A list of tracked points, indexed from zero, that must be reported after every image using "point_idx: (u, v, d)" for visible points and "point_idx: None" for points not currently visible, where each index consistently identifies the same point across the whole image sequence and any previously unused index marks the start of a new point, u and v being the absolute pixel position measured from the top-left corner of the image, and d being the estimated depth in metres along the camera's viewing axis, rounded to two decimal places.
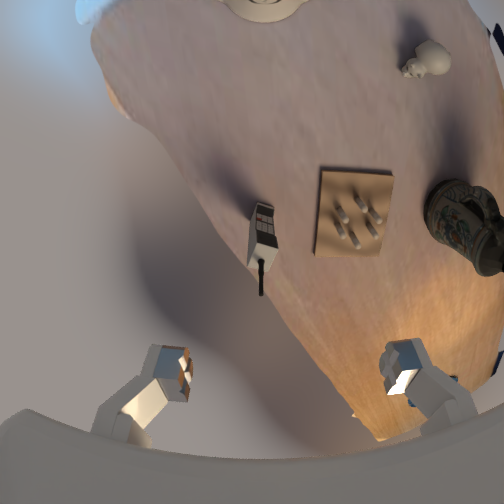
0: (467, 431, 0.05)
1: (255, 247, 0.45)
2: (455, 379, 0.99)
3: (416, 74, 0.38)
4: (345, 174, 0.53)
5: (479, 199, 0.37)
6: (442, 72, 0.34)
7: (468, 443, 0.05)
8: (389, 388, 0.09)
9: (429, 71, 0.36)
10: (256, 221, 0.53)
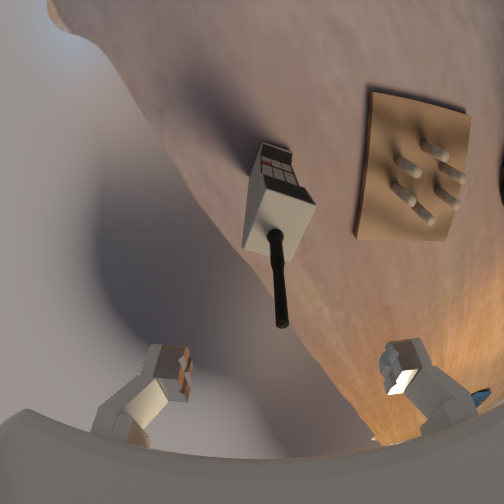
0: (467, 431, 0.05)
1: (262, 201, 0.18)
2: (488, 392, 0.73)
3: None
4: (407, 101, 0.27)
5: None
6: None
7: (468, 443, 0.05)
8: (389, 388, 0.09)
9: None
10: (261, 164, 0.26)
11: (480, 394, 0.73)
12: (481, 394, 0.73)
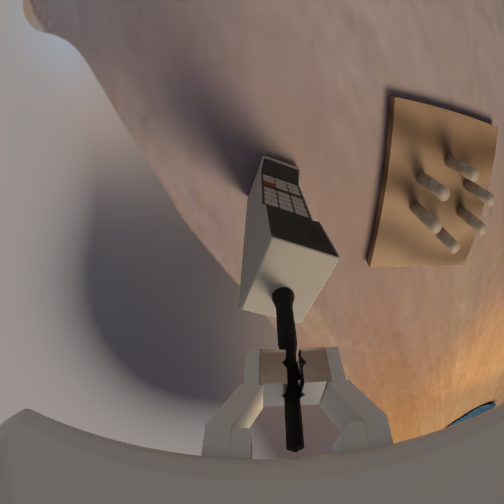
0: (467, 431, 0.05)
1: (266, 253, 0.13)
2: (493, 405, 0.68)
3: None
4: (432, 109, 0.22)
5: None
6: None
7: (468, 443, 0.05)
8: None
9: None
10: (263, 187, 0.21)
11: (485, 407, 0.68)
12: (486, 407, 0.68)
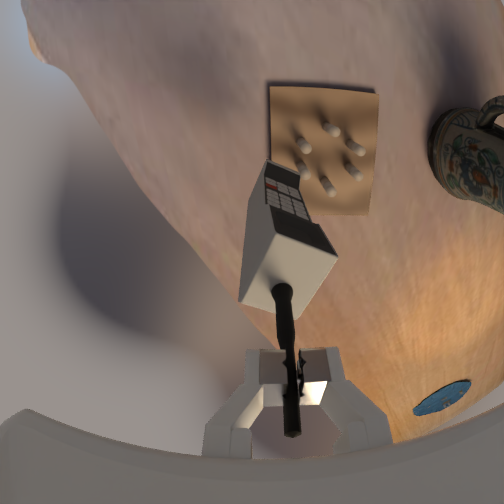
0: (467, 431, 0.05)
1: (269, 248, 0.14)
2: (468, 383, 0.79)
3: None
4: (304, 89, 0.34)
5: None
6: None
7: (468, 443, 0.05)
8: (299, 398, 0.09)
9: None
10: (266, 189, 0.22)
11: (458, 384, 0.80)
12: (460, 385, 0.80)
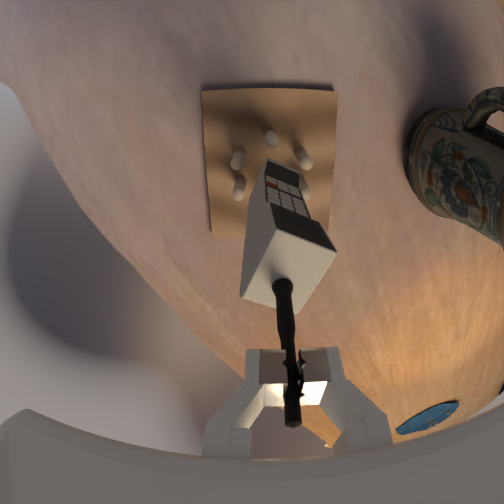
0: (467, 431, 0.05)
1: (270, 244, 0.14)
2: (456, 404, 0.75)
3: None
4: (242, 91, 0.29)
5: (502, 102, 0.13)
6: None
7: (468, 443, 0.05)
8: None
9: None
10: (266, 187, 0.22)
11: (445, 406, 0.75)
12: (446, 406, 0.75)
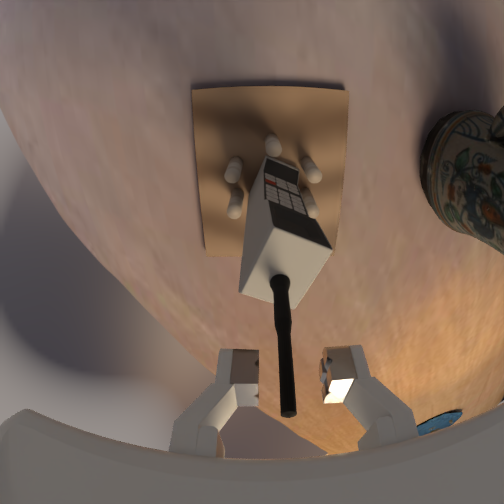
0: (467, 431, 0.05)
1: (267, 241, 0.15)
2: (459, 413, 0.71)
3: None
4: (238, 90, 0.25)
5: None
6: None
7: (468, 443, 0.05)
8: (324, 396, 0.09)
9: None
10: (265, 185, 0.23)
11: (448, 415, 0.71)
12: (450, 415, 0.71)
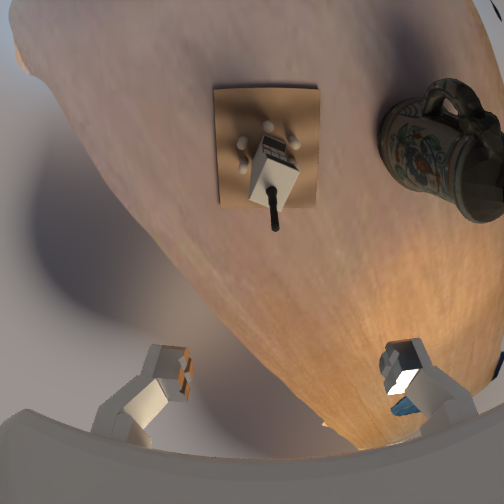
0: (467, 431, 0.05)
1: (264, 166, 0.27)
2: None
3: None
4: (245, 90, 0.37)
5: (444, 89, 0.22)
6: None
7: (468, 443, 0.05)
8: (389, 388, 0.09)
9: None
10: (263, 148, 0.35)
11: None
12: None
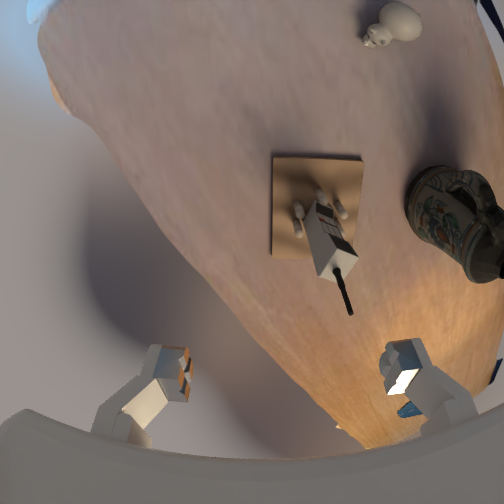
0: (467, 431, 0.05)
1: (333, 254, 0.35)
2: None
3: (379, 41, 0.30)
4: (301, 160, 0.45)
5: (469, 185, 0.30)
6: (411, 36, 0.27)
7: (468, 443, 0.05)
8: (389, 388, 0.09)
9: (395, 37, 0.29)
10: (320, 222, 0.43)
11: None
12: None
